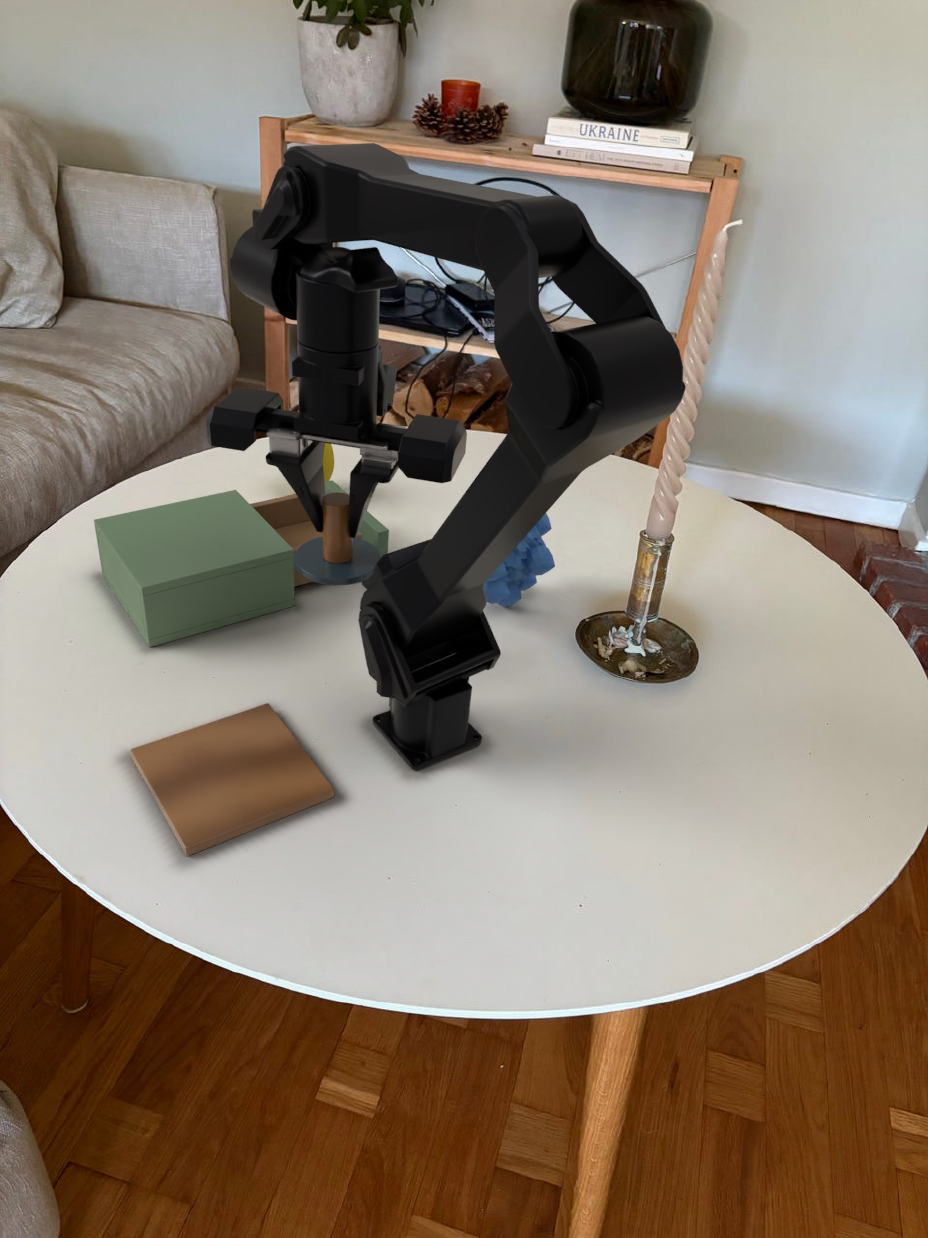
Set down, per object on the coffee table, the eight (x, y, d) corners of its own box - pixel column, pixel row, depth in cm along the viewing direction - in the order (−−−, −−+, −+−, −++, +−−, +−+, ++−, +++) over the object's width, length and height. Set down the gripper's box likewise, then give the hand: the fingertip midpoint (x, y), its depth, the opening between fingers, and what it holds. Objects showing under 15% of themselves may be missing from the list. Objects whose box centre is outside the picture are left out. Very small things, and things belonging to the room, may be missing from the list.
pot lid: (396, 572, 77) (399, 509, 74) (318, 594, 74) (317, 528, 71) (355, 534, 82) (356, 472, 79) (280, 552, 79) (277, 489, 75)
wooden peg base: (334, 797, 69) (334, 789, 69) (186, 857, 63) (185, 848, 63) (268, 710, 76) (268, 702, 76) (131, 757, 71) (129, 749, 70)
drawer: (342, 514, 101) (342, 477, 99) (397, 565, 94) (399, 527, 91) (219, 543, 94) (216, 505, 92) (268, 601, 87) (267, 561, 85)
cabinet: (239, 543, 96) (235, 489, 93) (295, 606, 88) (293, 549, 85) (102, 576, 90) (93, 519, 86) (149, 647, 81) (141, 587, 78)
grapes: (515, 649, 86) (532, 533, 79) (452, 622, 88) (463, 507, 81) (573, 593, 94) (593, 483, 87) (514, 570, 97) (528, 461, 90)
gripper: (488, 324, 73) (472, 506, 82) (256, 292, 75) (264, 472, 84) (457, 373, 64) (443, 571, 73) (195, 334, 66) (211, 531, 75)
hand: (338, 532), depth 76 cm, fingers closed on pot lid, 2 cm apart
